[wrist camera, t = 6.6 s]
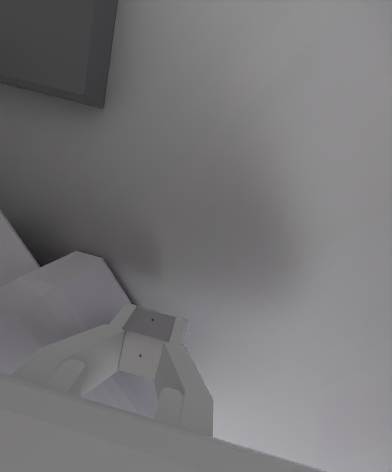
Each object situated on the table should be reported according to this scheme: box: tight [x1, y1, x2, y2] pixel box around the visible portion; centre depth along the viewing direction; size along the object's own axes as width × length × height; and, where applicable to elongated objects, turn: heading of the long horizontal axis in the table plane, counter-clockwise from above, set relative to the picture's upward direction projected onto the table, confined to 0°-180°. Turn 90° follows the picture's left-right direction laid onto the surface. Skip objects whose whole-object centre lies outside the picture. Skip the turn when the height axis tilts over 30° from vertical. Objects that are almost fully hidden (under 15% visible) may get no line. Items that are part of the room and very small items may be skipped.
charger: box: [0, 210, 158, 419], centre depth 10 cm, size 5×9×15 cm
